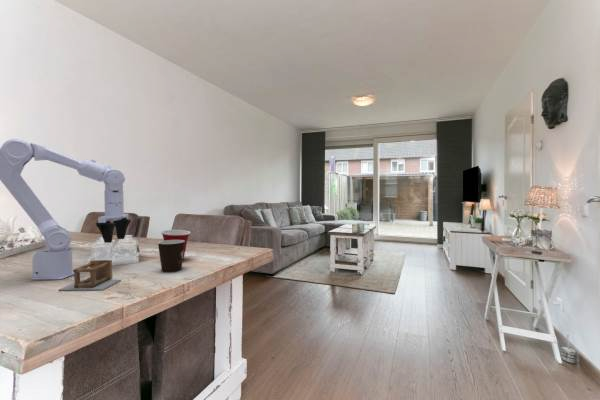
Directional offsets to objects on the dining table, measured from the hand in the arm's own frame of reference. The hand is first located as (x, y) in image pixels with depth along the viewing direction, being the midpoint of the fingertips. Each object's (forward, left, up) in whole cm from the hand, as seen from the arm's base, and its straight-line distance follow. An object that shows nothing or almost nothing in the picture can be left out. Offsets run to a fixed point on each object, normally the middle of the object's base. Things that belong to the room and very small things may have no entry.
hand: (114, 240), depth 101 cm
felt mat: (+5, -20, -10) cm, 23 cm away
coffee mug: (+22, -2, -10) cm, 24 cm away
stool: (+5, -15, -6) cm, 17 cm away
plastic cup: (+18, +10, -10) cm, 23 cm away
